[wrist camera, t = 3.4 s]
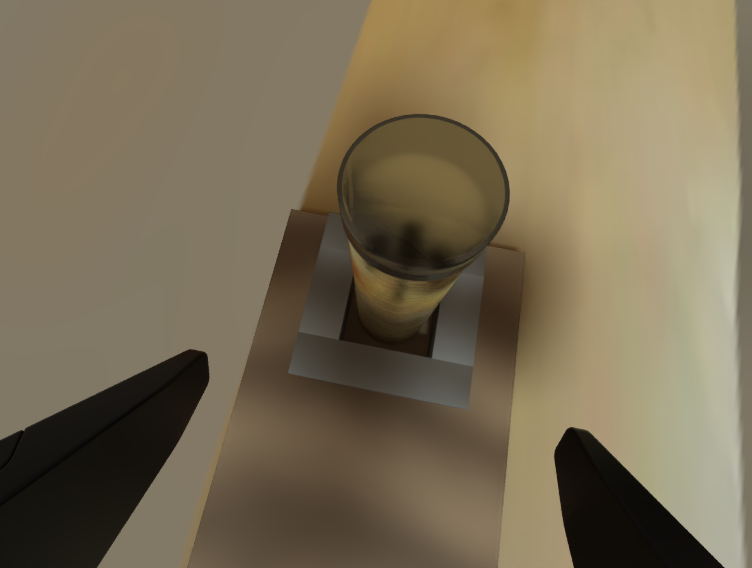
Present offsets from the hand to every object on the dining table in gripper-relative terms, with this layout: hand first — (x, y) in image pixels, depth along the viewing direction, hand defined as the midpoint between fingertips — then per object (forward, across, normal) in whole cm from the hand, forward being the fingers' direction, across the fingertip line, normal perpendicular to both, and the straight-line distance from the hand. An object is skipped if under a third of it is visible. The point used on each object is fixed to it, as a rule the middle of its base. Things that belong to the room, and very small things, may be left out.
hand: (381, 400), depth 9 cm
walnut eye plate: (+8, 0, +9) cm, 12 cm away
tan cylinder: (+10, 0, +4) cm, 11 cm away
